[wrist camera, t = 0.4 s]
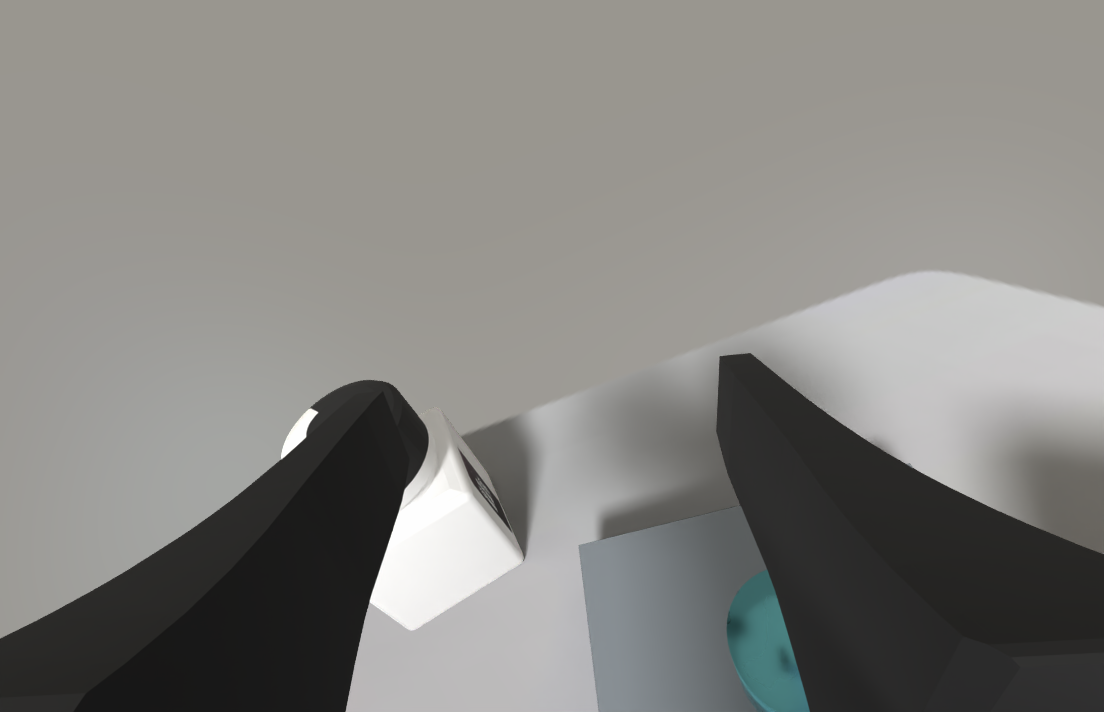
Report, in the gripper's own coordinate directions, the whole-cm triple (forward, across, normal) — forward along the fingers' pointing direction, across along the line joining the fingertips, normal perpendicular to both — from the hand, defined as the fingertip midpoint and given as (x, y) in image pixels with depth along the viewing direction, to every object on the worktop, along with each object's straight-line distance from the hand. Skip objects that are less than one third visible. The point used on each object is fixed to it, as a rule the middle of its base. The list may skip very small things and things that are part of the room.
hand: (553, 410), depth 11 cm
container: (+12, +9, +20) cm, 26 cm away
